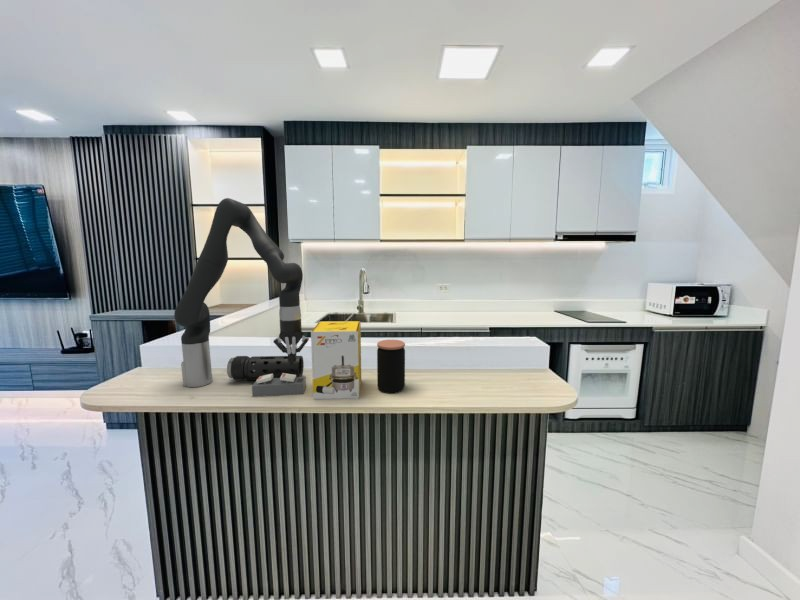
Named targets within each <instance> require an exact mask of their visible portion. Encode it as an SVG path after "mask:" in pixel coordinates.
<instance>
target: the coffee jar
mask: <svg viewBox="0 0 800 600" xmlns="http://www.w3.org/2000/svg"><path fill="white" fill-rule="evenodd" d="M376 345H377V350H376V359H377V360H376V361H377V362H376V363H377V364H376V366H377V367H376V370H377V372H376V373H377V374H376V375H377V377H376V378H377V385H376V386H377V388H378V389H379V391H380V390H381V391H380V392H382V393H385V392H386V393H385V394H396V393H395V392H397V393H400V392H401V390H402V389H403V390H404V388H405V385H406V350H405V349H406V348H405V347H406V343H405V342H404V341H402V340H398V339H384V340H381V341H378V342H377V343H376ZM403 390H402V391H403ZM399 391H400V392H399Z"/></svg>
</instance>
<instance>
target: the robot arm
mask: <svg viewBox="0 0 800 600" xmlns="http://www.w3.org/2000/svg"><path fill="white" fill-rule="evenodd" d="M232 227H237V228H239V229H241V230H242V231H243V232H244V233H245V234H247V236H248V237H249V239H250V241H251V244H252V247H253V248H254V250H255V252H256V253H257V254H258V255H259V256H260V257H261V259H262V260H263V261H264V262H265V263H266V265H267V268H268V270H269V272H270V274H271V275H272V278H273V279H274V280H276V281H277V282H278V283H280V284H285V286H284V288H283V289H282V290H279V293H278V299H279V301H278V302H279V311H278V317H279V330H280V331H279V334H278V337H277V338H275V339H273V343H274V344H275V346H276V347H277V348H278V349H279V350H280V351H281V352H282V353H285V354H286V355H287V356H288V362H290V364H294V363H295V362H296V360H297V358H296V356H297V353H300V352H301V351H302V350H303V349H304V347H305V346H306V345H307V343H308V341H310V340H309V339H310V338H309V337H306V336H305V335H304V332H303V330H302V329H303V327H302V312H301V311H302V310H301V303H300V302H301V301H300V292H301V288H302V284H303V276H304V274H303V270H302V267H301V265H299V264H298V263H296V262H287V263H285V262H284V258H285V253H284V252H283V251H282V250H281V249H280V247H279V246H278V245H277V244H276V243H275V242H274V241H273V239H271V237H270V236H269V234H267V232H266V231H265V230H264V228H263V227H262V225H261V224H260V223H259V221H258V220H257V218H256V216H255V215H254V212H252V209H250V207H249V206H248V205H247V204H245V203H243V202H240V201H238V200H235V199H233V198H229V197H226V198H223V199H222V200H221V201H220V202H219V203H218V204H217V206H216V208H215V212H214V215H213V219H212V222H211V225H210V229H209V233H208V234H207V237H206V241H205V243H204V246H203V248H202V250H201V252H200V255H199V256H198V260H197V261H196V264H195V266H194V270H193V272H192V275H191V277H190V279H189V282H188V285H187V286H186V290H185V291H184V293H183V294H182V296H181V298H180V299H179V302H178V303H177V306H176V307H175V310H174V315H173V317H174V320H175V322H176V324H178V325H179V326H181V327H185V329H184V332H183V333H182V334H181V336H180V341H181V350H182V351H181V352H182V360H183V361H181V362H180V366H181V377H182V385H183V387H188V388H199V387H203V386H207V385H209V384H210V383H212V382H213V373H212V372H213V371H212V370H213V369H212V359H211V358H212V357H211V348H210V337H209V336H210V333H211V316H210V315H211V314H210V309H209V306H208V304H207V303H205V301H206V298H207V296H208V294H209V293H210V292H211V290H213V289H214V287H215V286H216V285H217V283H218V282H219V280H220V279H221V277H222V276H223V273H224V272H225V269H226V267H227V265H228V261H229V252H228V243H227V242H228V236H229V233H230V230H231V228H232ZM300 341H301V344H300V345H299V347H298V344H299V342H300ZM282 342H283V343H282Z"/></svg>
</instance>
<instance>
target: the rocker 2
mask: <svg viewBox="0 0 800 600" xmlns="http://www.w3.org/2000/svg"><path fill="white" fill-rule="evenodd" d="M295 378H296V375H293V374H287V373H283V374H282V375H281V377H280V380H284V381H290V382H294V380H295Z"/></svg>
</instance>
